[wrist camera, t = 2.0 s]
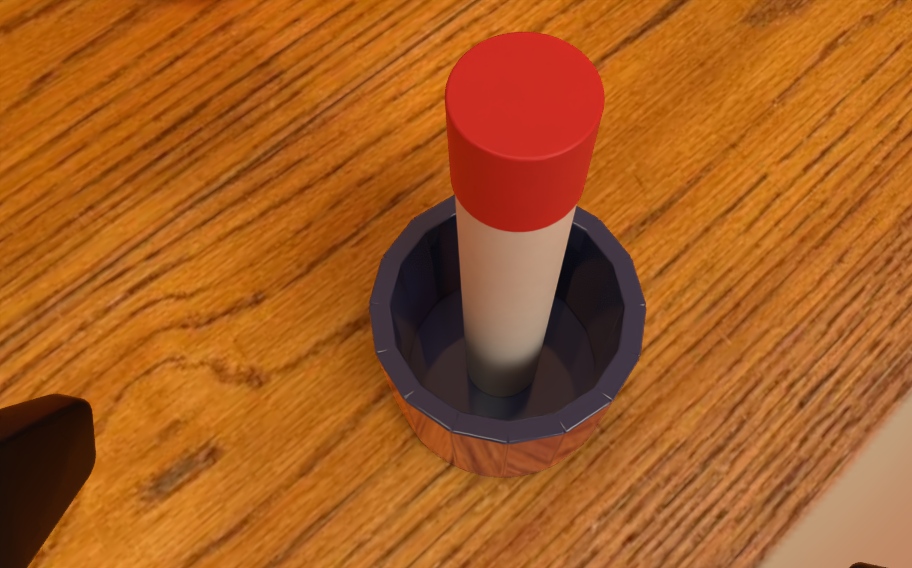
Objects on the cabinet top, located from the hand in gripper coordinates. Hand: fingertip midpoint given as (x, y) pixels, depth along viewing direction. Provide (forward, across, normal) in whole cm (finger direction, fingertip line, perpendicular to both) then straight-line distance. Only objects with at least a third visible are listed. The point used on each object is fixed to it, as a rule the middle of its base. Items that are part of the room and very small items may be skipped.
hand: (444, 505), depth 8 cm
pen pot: (+12, 0, +4) cm, 13 cm away
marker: (+11, 0, +4) cm, 12 cm away
